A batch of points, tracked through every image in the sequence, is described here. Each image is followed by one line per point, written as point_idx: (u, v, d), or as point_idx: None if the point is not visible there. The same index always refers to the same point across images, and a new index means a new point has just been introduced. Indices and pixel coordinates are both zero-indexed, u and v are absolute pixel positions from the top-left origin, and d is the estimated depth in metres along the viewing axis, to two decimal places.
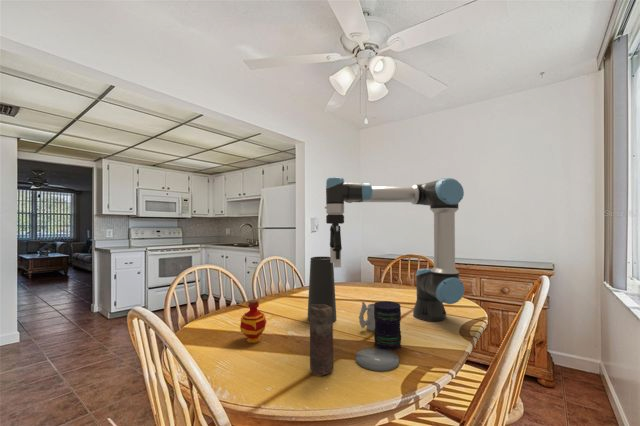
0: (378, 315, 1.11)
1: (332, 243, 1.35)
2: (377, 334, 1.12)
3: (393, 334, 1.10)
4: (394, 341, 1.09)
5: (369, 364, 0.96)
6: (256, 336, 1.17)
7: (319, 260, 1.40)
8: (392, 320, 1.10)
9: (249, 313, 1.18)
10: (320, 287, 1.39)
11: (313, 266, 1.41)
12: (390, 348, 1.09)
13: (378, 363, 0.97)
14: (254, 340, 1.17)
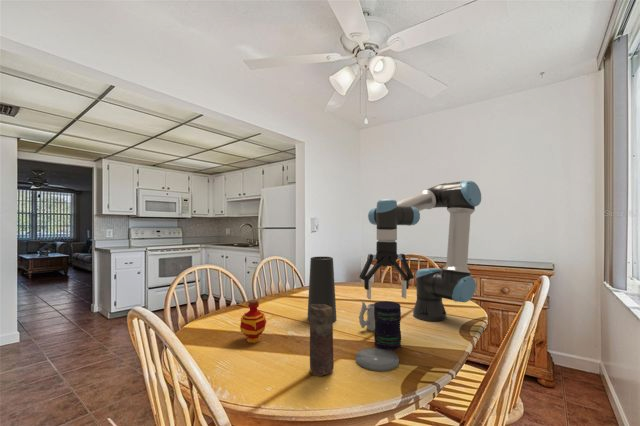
0: (378, 315, 1.11)
1: (400, 274, 1.16)
2: (377, 334, 1.12)
3: (393, 334, 1.10)
4: (394, 341, 1.09)
5: (369, 364, 0.96)
6: (256, 336, 1.17)
7: (319, 260, 1.40)
8: (392, 320, 1.10)
9: (249, 313, 1.18)
10: (320, 287, 1.39)
11: (313, 266, 1.41)
12: (390, 348, 1.09)
13: (378, 363, 0.97)
14: (254, 340, 1.17)
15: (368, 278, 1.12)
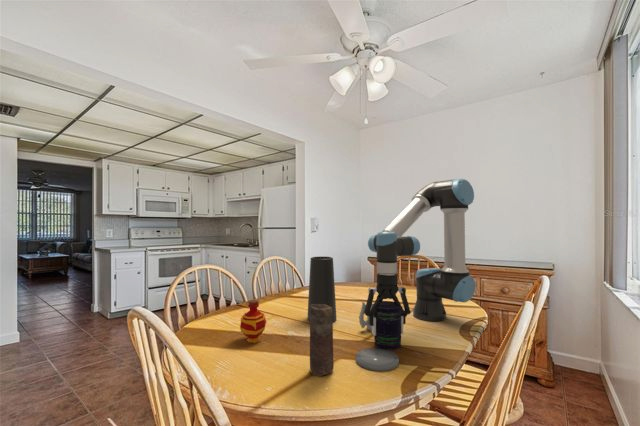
0: (378, 315, 1.11)
1: None
2: (377, 334, 1.12)
3: (393, 334, 1.10)
4: (394, 341, 1.09)
5: (369, 364, 0.96)
6: (256, 336, 1.17)
7: (319, 260, 1.40)
8: (392, 320, 1.10)
9: (249, 313, 1.18)
10: (320, 287, 1.39)
11: (313, 266, 1.41)
12: (390, 348, 1.09)
13: (378, 363, 0.97)
14: (254, 340, 1.17)
15: (373, 314, 1.12)
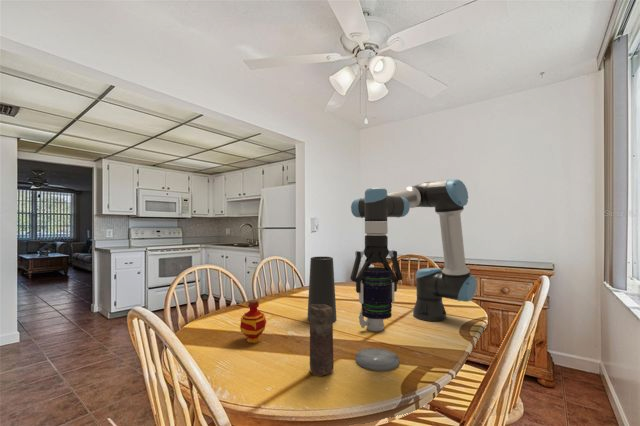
0: (366, 280, 0.99)
1: None
2: (365, 302, 0.99)
3: (382, 301, 0.97)
4: (383, 309, 0.97)
5: (369, 364, 0.96)
6: (256, 336, 1.17)
7: (319, 260, 1.40)
8: (381, 285, 0.97)
9: (249, 313, 1.18)
10: (320, 287, 1.39)
11: (313, 266, 1.41)
12: (379, 317, 0.97)
13: (378, 363, 0.97)
14: (254, 340, 1.17)
15: (360, 280, 1.00)
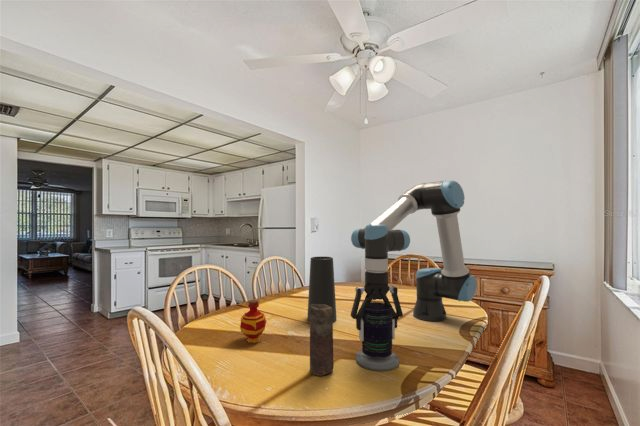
0: (366, 318, 0.98)
1: None
2: (365, 339, 0.99)
3: (383, 339, 0.97)
4: (384, 347, 0.97)
5: (369, 364, 0.96)
6: (256, 336, 1.17)
7: (319, 260, 1.40)
8: (382, 323, 0.97)
9: (249, 313, 1.18)
10: (320, 287, 1.39)
11: (313, 266, 1.41)
12: (379, 355, 0.96)
13: (378, 363, 0.97)
14: (254, 340, 1.17)
15: (360, 317, 0.99)
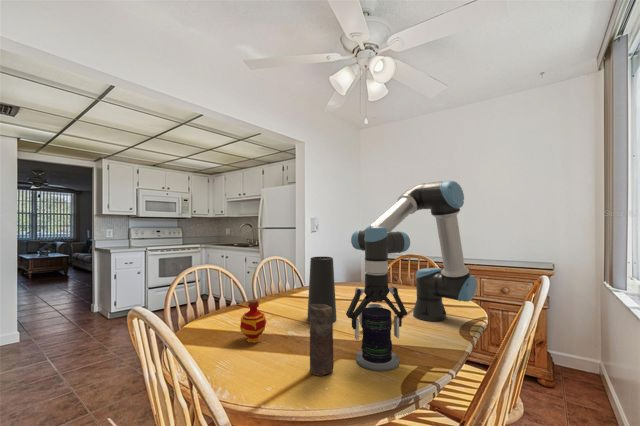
0: (366, 323, 0.98)
1: None
2: (365, 345, 0.99)
3: (383, 344, 0.97)
4: (384, 353, 0.97)
5: (369, 364, 0.96)
6: (256, 336, 1.17)
7: (319, 260, 1.40)
8: (381, 329, 0.97)
9: (249, 313, 1.18)
10: (320, 287, 1.39)
11: (313, 266, 1.41)
12: (379, 361, 0.96)
13: None
14: (254, 340, 1.17)
15: (355, 316, 0.99)
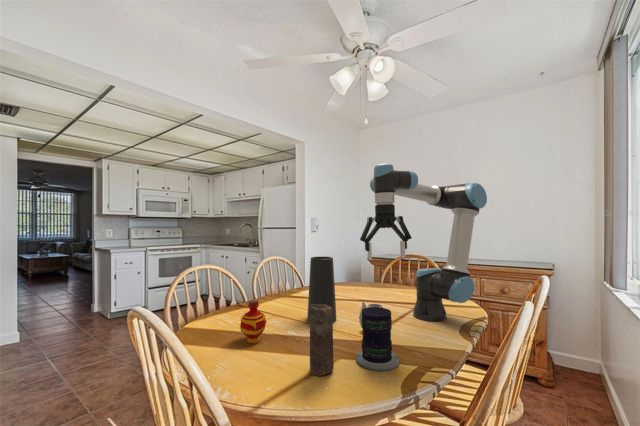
0: (366, 323, 0.98)
1: (399, 235, 1.21)
2: (365, 345, 0.99)
3: (383, 344, 0.97)
4: (384, 353, 0.97)
5: (369, 364, 0.96)
6: (256, 336, 1.17)
7: (319, 260, 1.40)
8: (381, 329, 0.97)
9: (249, 313, 1.18)
10: (320, 287, 1.39)
11: (313, 266, 1.41)
12: (379, 361, 0.96)
13: None
14: (254, 340, 1.17)
15: (368, 240, 1.17)
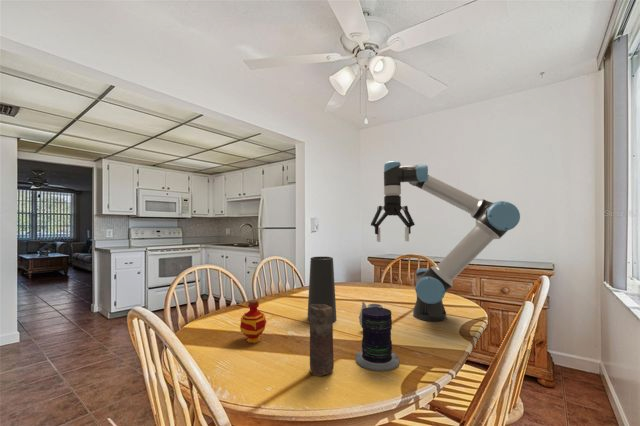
0: (366, 323, 0.99)
1: (404, 222, 1.43)
2: (365, 345, 0.99)
3: (383, 344, 0.97)
4: (384, 353, 0.97)
5: (369, 364, 0.96)
6: (256, 336, 1.17)
7: (319, 260, 1.40)
8: (382, 329, 0.97)
9: (249, 313, 1.18)
10: (320, 287, 1.39)
11: (313, 266, 1.41)
12: (379, 361, 0.96)
13: (378, 363, 0.97)
14: (254, 340, 1.17)
15: (378, 225, 1.39)
